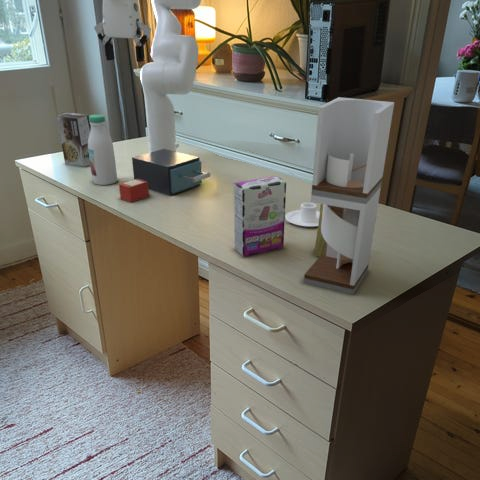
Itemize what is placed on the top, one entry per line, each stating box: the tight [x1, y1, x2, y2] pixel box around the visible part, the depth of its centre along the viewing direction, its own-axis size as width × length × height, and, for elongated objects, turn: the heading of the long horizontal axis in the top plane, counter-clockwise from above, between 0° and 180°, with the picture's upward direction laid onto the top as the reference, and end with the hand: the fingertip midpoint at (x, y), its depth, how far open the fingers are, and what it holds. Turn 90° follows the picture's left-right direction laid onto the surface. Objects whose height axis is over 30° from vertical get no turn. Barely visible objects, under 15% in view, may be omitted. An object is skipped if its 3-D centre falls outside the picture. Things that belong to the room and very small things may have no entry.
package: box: [118, 178, 150, 203], centre depth 152 cm, size 5×7×4 cm, turn 141°
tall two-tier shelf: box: [303, 96, 395, 296], centre depth 102 cm, size 11×11×35 cm
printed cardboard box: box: [56, 112, 91, 167], centre depth 178 cm, size 9×6×16 cm
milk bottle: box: [88, 114, 118, 186], centre depth 160 cm, size 8×8×20 cm
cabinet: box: [131, 149, 201, 196], centre depth 161 cm, size 16×14×9 cm
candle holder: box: [285, 202, 320, 227], centre depth 138 cm, size 12×12×4 cm
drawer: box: [170, 160, 212, 194], centre depth 158 cm, size 21×12×7 cm, turn 51°
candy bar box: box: [233, 175, 287, 258], centre depth 119 cm, size 11×5×16 cm, turn 117°
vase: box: [313, 204, 327, 258], centre depth 118 cm, size 6×6×14 cm
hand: (125, 60), depth 149 cm, fingers open, 9 cm apart
